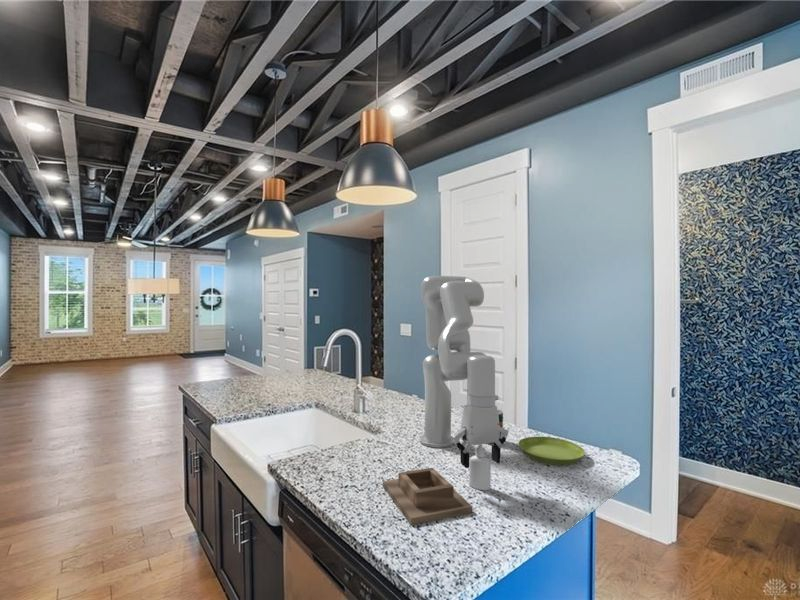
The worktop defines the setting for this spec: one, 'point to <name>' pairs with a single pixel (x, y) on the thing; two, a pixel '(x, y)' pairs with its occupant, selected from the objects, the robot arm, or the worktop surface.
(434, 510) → the bottle stand
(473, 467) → the eye dropper bottle
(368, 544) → the worktop surface
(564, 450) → the saucer
